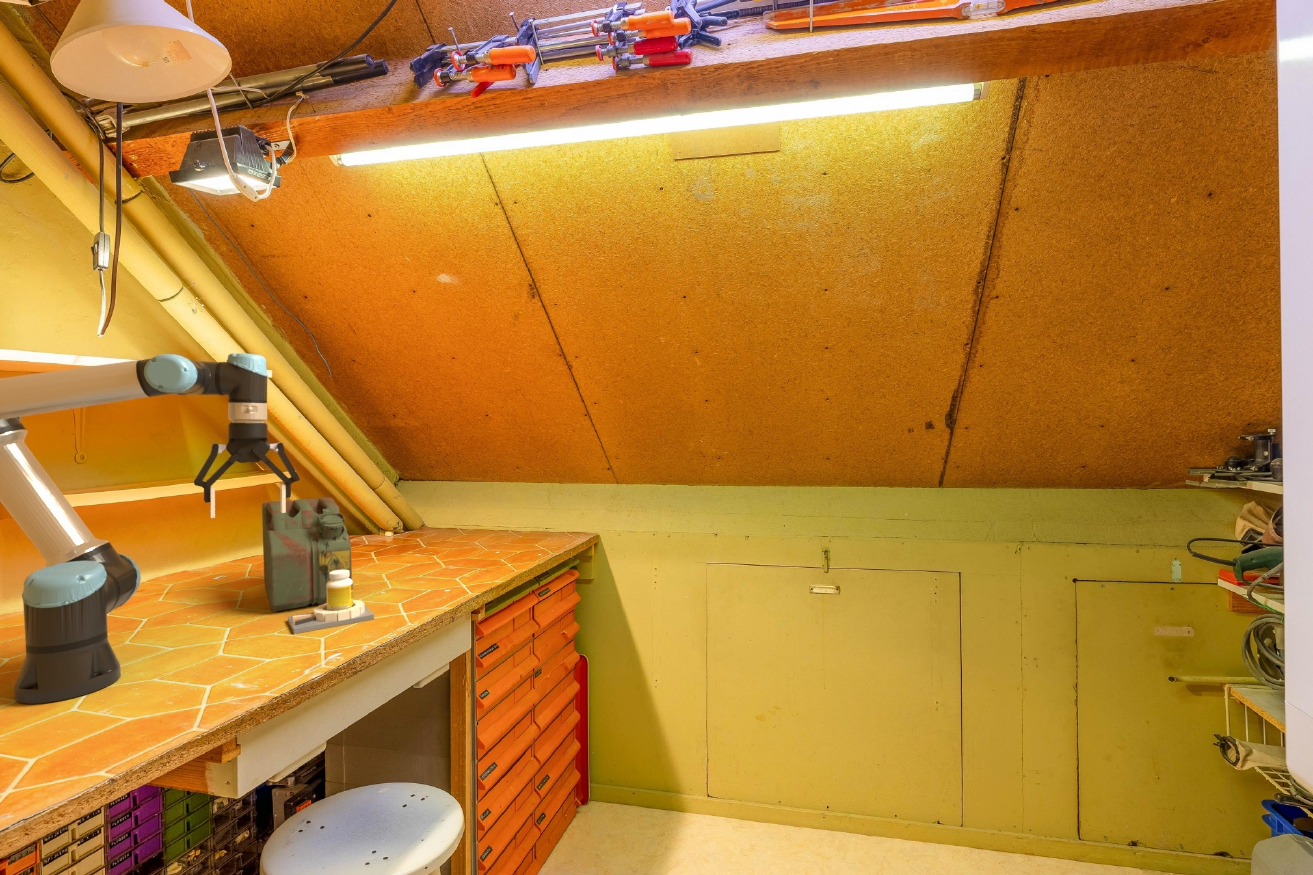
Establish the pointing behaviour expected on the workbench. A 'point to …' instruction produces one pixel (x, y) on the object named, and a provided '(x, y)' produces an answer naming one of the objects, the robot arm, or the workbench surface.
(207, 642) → the workbench surface
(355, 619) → the junction plate
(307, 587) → the fuel can
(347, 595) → the pill bottle
